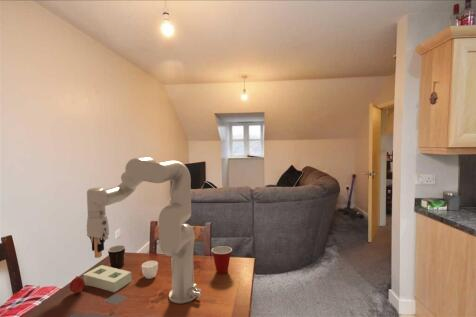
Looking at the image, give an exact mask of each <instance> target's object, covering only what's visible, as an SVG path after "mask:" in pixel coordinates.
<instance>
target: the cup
mask: <svg viewBox="0 0 476 317" xmlns="http://www.w3.org/2000/svg"><path fill="white" fill-rule="evenodd" d="M158 269H159V262H158V261H156V260H147V261H145V262H143V263H142V264H141V271H142V272H141V273H142V275H143V276H144V278H145V279H153V278H155V276H156V275H157V273H158V271H159V270H158Z"/></svg>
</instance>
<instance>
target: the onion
mask: <svg viewBox="0 0 476 317" xmlns="http://www.w3.org/2000/svg"><path fill="white" fill-rule="evenodd" d="M85 286H86V285H85V282H84V278H81V277H79V275H76V276H75V278H73V279H72V281H70V284H69V291H70V292H72V293H73V294H79V293H80V292H81V291H82V290H84V288H85Z"/></svg>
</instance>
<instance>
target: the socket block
mask: <svg viewBox="0 0 476 317" xmlns="http://www.w3.org/2000/svg"><path fill="white" fill-rule="evenodd" d="M82 275H83V280H84V282H85V286H88V287H95V288H97V289H100V290H105V291H109V292H111V293H116V292H118V291H119V290H121V289H122V288H124V287H125V286H127V285H128V284H129V283H131V282H132V271H128V270H125V269H121V268H119V269H116V268H112V267H111V266H108V265H104V264H101V265H99V266H97V267H95V268H93V269H91V270H89V271H87V272H86V273H84V274H82Z"/></svg>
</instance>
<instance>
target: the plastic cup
mask: <svg viewBox="0 0 476 317" xmlns="http://www.w3.org/2000/svg"><path fill="white" fill-rule="evenodd" d="M232 251H233V248H232V247H230V246H226V245H223V246H222V245H220V246H214V247H213V248H211V253H212V255H213V260H214V261H213V262H214V267H215V271H216V273H217V274H219V275H225V274H227V273H228V271H229V266H230V259H231V254H232Z"/></svg>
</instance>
